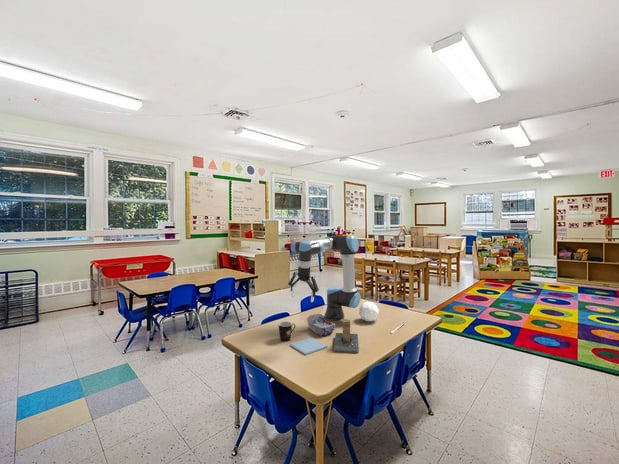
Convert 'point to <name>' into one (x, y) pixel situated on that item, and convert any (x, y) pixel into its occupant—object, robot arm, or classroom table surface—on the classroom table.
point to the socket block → (346, 343)
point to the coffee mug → (285, 330)
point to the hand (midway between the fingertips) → (302, 298)
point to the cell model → (320, 324)
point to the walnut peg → (346, 330)
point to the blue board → (308, 346)
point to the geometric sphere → (368, 311)
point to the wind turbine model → (397, 328)
